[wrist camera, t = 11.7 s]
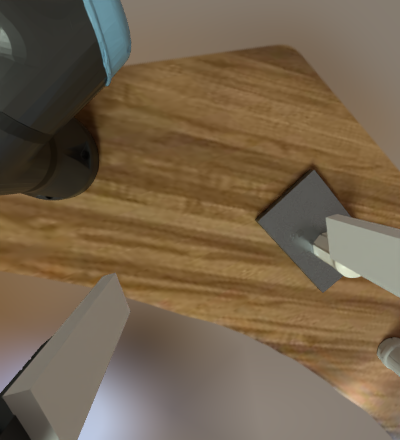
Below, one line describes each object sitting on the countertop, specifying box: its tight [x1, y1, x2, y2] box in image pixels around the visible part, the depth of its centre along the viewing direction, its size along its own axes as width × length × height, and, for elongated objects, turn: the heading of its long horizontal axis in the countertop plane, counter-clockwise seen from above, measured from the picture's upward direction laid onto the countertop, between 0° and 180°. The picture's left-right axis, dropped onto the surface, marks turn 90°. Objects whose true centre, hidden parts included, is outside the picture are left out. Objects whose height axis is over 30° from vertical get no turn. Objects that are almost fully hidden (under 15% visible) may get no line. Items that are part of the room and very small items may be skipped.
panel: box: [256, 170, 351, 292], centre depth 38 cm, size 22×14×6 cm, turn 44°
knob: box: [313, 232, 361, 278], centre depth 36 cm, size 6×6×7 cm
